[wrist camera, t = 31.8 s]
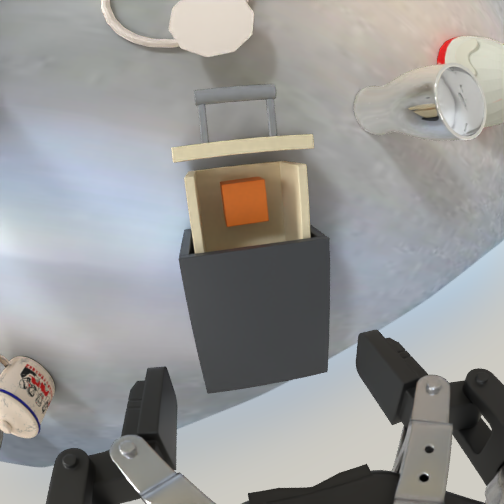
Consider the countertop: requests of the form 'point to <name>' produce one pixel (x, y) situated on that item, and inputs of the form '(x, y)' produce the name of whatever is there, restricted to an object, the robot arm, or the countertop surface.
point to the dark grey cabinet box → (259, 310)
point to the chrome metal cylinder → (425, 104)
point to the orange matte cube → (244, 201)
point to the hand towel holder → (198, 26)
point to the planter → (1, 437)
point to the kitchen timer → (480, 69)
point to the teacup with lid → (24, 396)
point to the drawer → (275, 174)
